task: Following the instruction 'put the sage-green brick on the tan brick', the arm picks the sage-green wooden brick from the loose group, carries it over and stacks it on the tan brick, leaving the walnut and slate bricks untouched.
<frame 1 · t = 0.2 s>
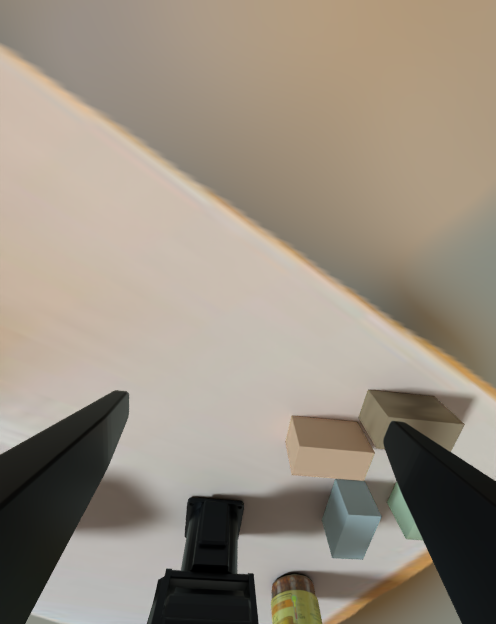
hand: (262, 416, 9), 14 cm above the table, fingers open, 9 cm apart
slate brick: (342, 499, 32), on the table
tan brick: (320, 430, 28), on the table
sage brick: (418, 493, 32), on the table
walnut brick: (395, 406, 27), on the table
sauce bottle: (291, 582, 37), on the table
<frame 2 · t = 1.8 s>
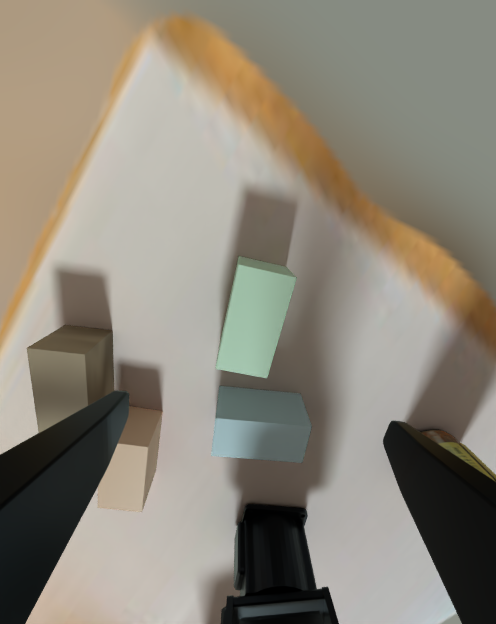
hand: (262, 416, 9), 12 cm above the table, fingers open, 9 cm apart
slate brick: (257, 405, 23), on the table
tan brick: (140, 438, 24), on the table
sage brick: (251, 306, 20), on the table
walnut brick: (92, 366, 21), on the table
sauce bottle: (424, 449, 26), on the table
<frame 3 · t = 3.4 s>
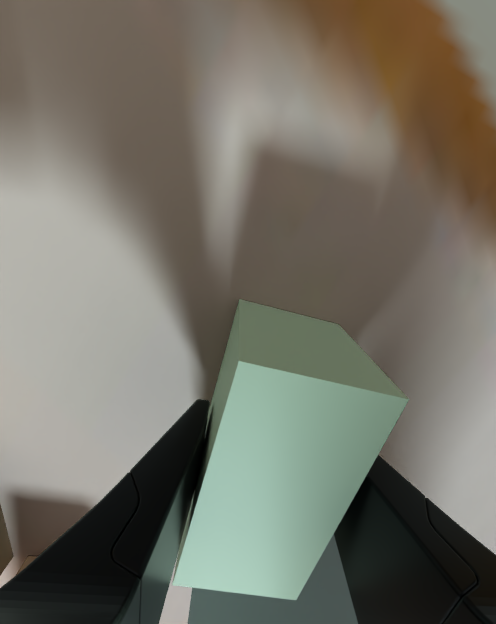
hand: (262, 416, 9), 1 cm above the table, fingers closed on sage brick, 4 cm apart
slate brick: (269, 549, 13), on the table
sage brick: (260, 396, 10), on the table, touching gripper
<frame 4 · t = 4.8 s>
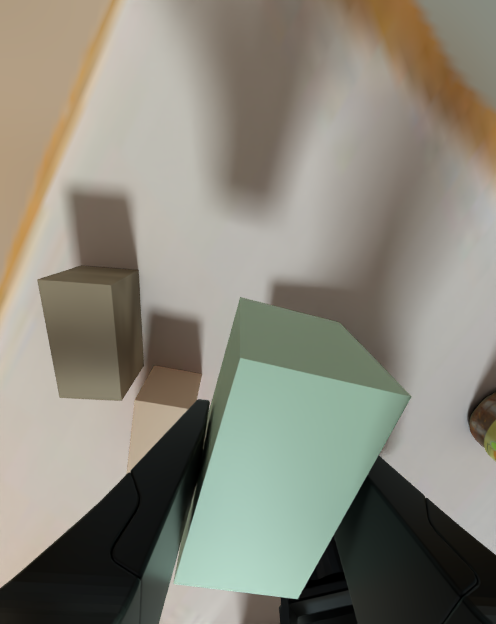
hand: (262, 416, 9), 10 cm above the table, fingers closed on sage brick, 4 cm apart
tan brick: (172, 406, 21), on the table
sage brick: (261, 395, 10), point 9 cm above the table, touching gripper
walnut brick: (115, 318, 18), on the table
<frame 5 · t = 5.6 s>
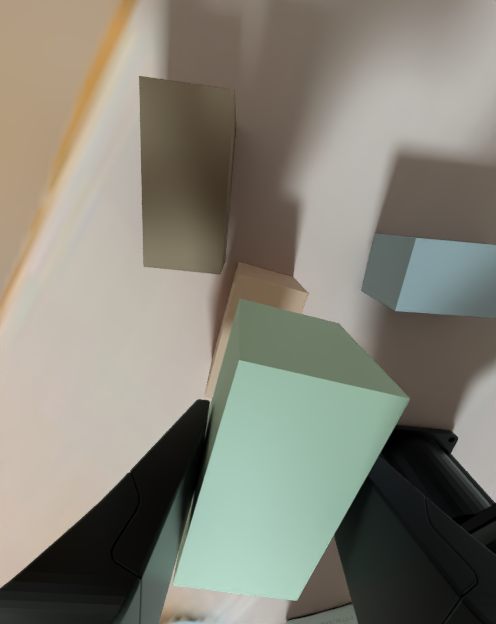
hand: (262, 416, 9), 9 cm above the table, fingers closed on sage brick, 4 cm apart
slate brick: (421, 267, 16), on the table
tan brick: (250, 320, 17), on the table
skincare box: (324, 621, 30), on the table
sage brick: (261, 396, 10), point 8 cm above the table, touching gripper
walnut brick: (198, 194, 15), on the table
when the fingers open (6 cm above the table, at t = 6.3 s): sage brick drops 1 cm, resting on tan brick.
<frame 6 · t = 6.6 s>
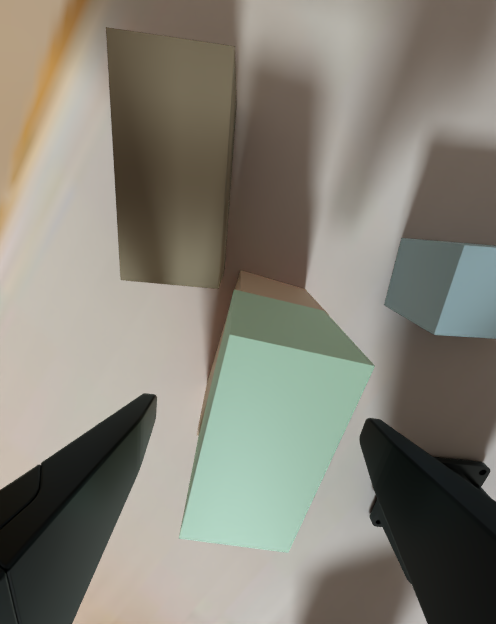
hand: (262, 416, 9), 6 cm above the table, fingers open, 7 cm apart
slate brick: (455, 277, 14), on the table
tan brick: (252, 338, 15), on the table, touching sage brick
sage brick: (256, 378, 11), point 4 cm above the table, touching tan brick
walnut brick: (192, 190, 12), on the table
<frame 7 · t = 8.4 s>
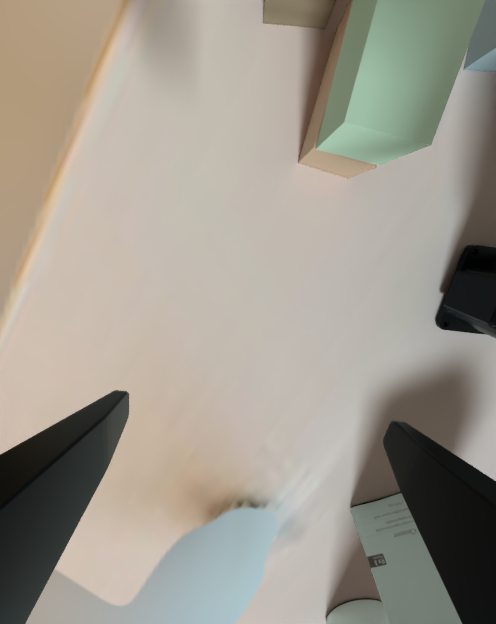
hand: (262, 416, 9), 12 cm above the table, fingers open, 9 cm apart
tan brick: (342, 109, 16), on the table, touching sage brick
skincare box: (388, 511, 29), on the table
sage brick: (371, 75, 13), point 4 cm above the table, touching tan brick
fruit juice: (358, 614, 35), on the table
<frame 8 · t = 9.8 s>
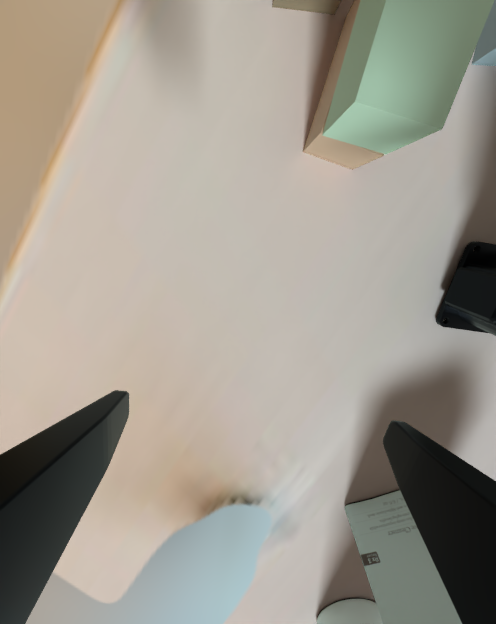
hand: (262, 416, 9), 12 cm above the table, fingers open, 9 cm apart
tan brick: (349, 99, 16), on the table, touching sage brick
skincare box: (382, 510, 29), on the table
sage brick: (381, 61, 12), point 4 cm above the table, touching tan brick
fruit juice: (349, 614, 35), on the table
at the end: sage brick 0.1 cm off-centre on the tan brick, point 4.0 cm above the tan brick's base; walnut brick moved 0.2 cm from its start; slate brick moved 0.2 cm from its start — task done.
